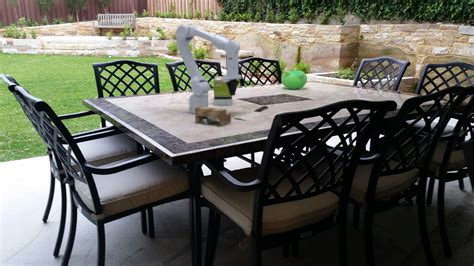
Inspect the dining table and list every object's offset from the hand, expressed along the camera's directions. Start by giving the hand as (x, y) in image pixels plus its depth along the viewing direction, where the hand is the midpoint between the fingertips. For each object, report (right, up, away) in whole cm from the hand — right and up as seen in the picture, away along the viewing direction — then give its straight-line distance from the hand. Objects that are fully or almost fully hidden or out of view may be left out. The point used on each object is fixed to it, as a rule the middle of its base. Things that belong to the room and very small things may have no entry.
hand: (232, 95), depth 192 cm
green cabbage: (+42, +12, +85) cm, 96 cm away
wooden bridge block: (-9, -14, -13) cm, 21 cm away
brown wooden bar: (-9, -13, -9) cm, 18 cm away
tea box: (-6, -2, +32) cm, 33 cm away
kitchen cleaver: (+13, -10, +5) cm, 17 cm away
